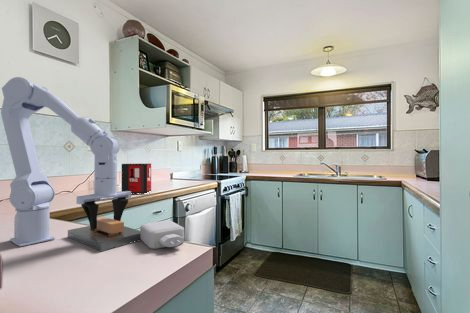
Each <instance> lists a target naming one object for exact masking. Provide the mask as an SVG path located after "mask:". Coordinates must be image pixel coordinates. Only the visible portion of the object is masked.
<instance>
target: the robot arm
mask: <svg viewBox="0 0 470 313" xmlns="http://www.w3.org/2000/svg"><path fill="white" fill-rule="evenodd" d="M1 90H2V94H3V99H2V106H1V111H0V115H1V119H2V123H3V127H4V131H5V135H6V139H7V144H8V147H9V152H10V155H11V159H12V164H13V167H14V168H13V169H14V172H15V177H14V178H13V180H12V181H11V183H10V186H9V187H10V195H9V202H10V204H11V205H12V207H13V208H15V209H14V210H15V211H16V213H15V215H14V217H13V218H14V221H13V222H14V225H13V226H14V232H13V233H14V235H13V236H14V237H10V238H9V241H10V242H12V243H13V244H15V245H16V246H18V247H24V246H29V245H34V244H39V243H43V242H47V241H53V240H55V239H56V237H55V236H54V235H51V234H50V229H51V228H50V221H51V220H50V218H51V216H50V213H51V212H50V207H51V202H52V201H53V200H54V198H55V196H56V191H55V188H54V186H52V184H51V183H50V180H49V178H48V176H46V175H45V174H44V173H43V172H42V169H41V166H40V162H39V157H38V154H37V150H36V145H35V142H34V137H33V133H32V130H31V126H30V120H29V119H30V117H31V116H32V115H34V114H36V113H38V112H39V111H40V110H42V109H44V108H48V109H49V110H50V111H52V112H53V113H54V114H56V115H57V116H59V117H60V118H61V119H62V120H64V121H65V122H66V123H68V125H70V129H71V133H72V134H73V135H75V136H76V137H77V138H78V139H80V140H81V141H82V142H84V143H85V144H86V145H87V146H88V147H89V148H90V151H91V153H93V155H94V170H93V173H94V182H93V183H94V184H93V185H94V187H93V188H94V192H93V193H92V194H85V195H77V196H76V204H77V205H81V207H82V209H83V210H84V213H85V214H86V217H87V220H88V222H89V226H90V228H91V229H97V217H98V212H99V207H100V205H99V204H97V203H98V202H106V201H111V203H112V209H113V220H117V221H121V220H122V216H123V213H124V211H125V209H126V206H127V205H128V204H129V199H131V198H132V194H131V191H123V192H122V191H117V190H118V189H117V188H118V186H117V184H118V183H117V182H118V167H117V166H118V162H117V154H118V153H119V150H120V144H119V142H118V140H117V139H116V138H115V137H113V136H108V135H109V132H108V131H107V130H103V129H101V128H100V127H99V126H98V125H97V124H96V121H95V119H93V118H88V117H84V116H83V117H81V116H79V114H77V113H76V112H75V111H74V110H73V109H72V108H70V107H69V106H68V105H67V104H66V103H65V102H64V101H63V100H62V99H61V98H59V97H58V96H57V94H55V93H53V92H52V91H50V90H49V89H48V88H47V87H44V86H42V85H39V84H36V83H34V82H32V81H31V80H30V81H29V80H28V79H26V78H24V77H20V76H16V77H12V78H10V79H9V80H8V81H7V82H6V83H5V84H4V85H3V86H2V87H1ZM96 202H97V203H96ZM121 222H122V221H121Z"/></svg>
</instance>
